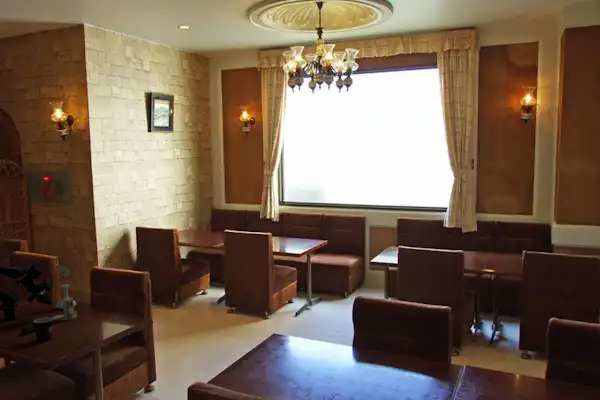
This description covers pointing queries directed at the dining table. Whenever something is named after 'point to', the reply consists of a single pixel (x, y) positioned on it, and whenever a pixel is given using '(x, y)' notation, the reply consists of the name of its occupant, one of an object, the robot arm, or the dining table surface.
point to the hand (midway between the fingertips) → (51, 304)
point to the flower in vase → (64, 286)
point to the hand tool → (28, 329)
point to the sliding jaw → (65, 306)
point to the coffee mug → (43, 328)
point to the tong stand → (67, 311)
